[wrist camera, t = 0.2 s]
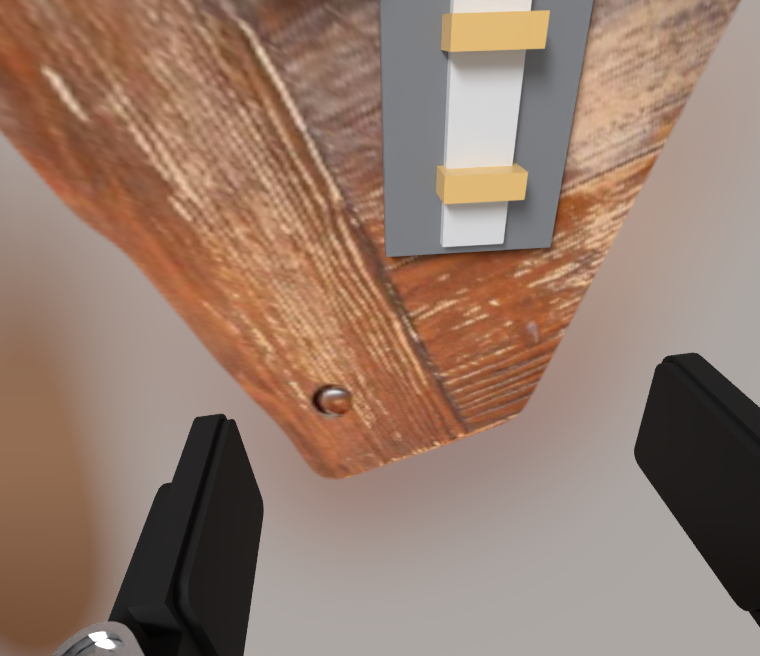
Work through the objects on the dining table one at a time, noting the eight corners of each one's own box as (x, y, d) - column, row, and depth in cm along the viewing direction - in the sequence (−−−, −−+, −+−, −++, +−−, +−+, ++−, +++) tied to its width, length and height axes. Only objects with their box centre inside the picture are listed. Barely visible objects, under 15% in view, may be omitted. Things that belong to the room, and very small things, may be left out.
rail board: (376, -85, 29) (383, -101, 26) (597, -89, 30) (636, -105, 26) (384, 249, 41) (389, 272, 37) (543, 240, 42) (564, 261, 38)
